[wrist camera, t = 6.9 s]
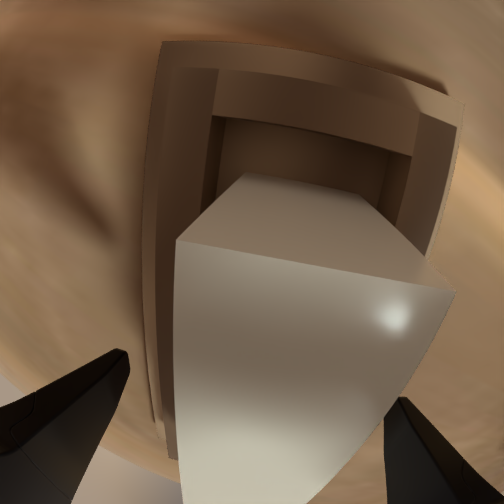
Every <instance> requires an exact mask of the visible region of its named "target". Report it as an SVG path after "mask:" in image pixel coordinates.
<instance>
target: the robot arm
mask: <svg viewBox="0 0 504 504" xmlns="http://www.w3.org/2000/svg"><path fill="white" fill-rule="evenodd" d="M129 374H130V364H129V358H128V353H127V352H126V351H124V350H121V349H118V348H116V349H113V350H111V351H109V352H108V353H106V354H104V355H102V356H100V357H98V358H97V359H95V360H93V361H91V362H89V363H87V364H85V365H84V366H82V367H80V368H78V369H76V370H74V371H72V372H71V373H69V374H67V375H65V376H63V377H61V378H59V379H57V380H56V381H54V382H52V383H50V384H48V385H46V386H44V387H42V388H40V389H39V390H37V391H36V392H33V393H31V394H29V395H27V396H25V397H23V398H21V399H19V400H17V401H15V402H12V403H10V404H7V405H5V406H2V407H0V504H71V502H72V501H71V500H73V497H74V495H75V493H76V491H77V489H78V486H79V484H80V482H81V480H82V478H83V476H84V474H85V472H86V469H87V467H88V465H89V463H90V461H91V459H92V457H93V455H94V453H95V451H96V449H97V447H98V445H99V443H100V441H101V439H102V437H103V435H104V433H105V431H106V429H107V427H108V425H109V423H110V421H111V419H112V417H113V415H114V413H115V411H116V408H117V406H118V403H119V401H120V398H121V395H122V392H123V390H124V387H125V385H126V382H127V379H128V377H129ZM384 461H385V473H386V486H387V504H504V496H503V495H502V494H501V493H499V492H498V491H497V490H496V489H495V488H494V487H493V486H491V485H490V484H489V483H488V482H487V481H486V480H485V479H484V478H483V477H481V476H480V475H479V474H478V473H477V472H476V471H475V470H474V469H473V468H472V467H471V466H470V464H469V463H468V462H467V461H466V460H465V459H463V457H462V456H461V455H460V454H459V453H458V452H457V450H456V449H455V448H454V447H453V446H452V445H451V444H450V443H449V442H448V441H447V440H446V439H445V438H444V436H443V435H442V434H441V433H440V432H439V431H438V430H437V429H436V428H435V427H434V426H433V425H432V424H431V422H430V421H429V420H428V419H427V418H426V417H425V416H424V415H423V414H422V413H421V412H420V411H419V410H418V409H417V408H416V406H415V405H414V404H413V403H412V402H411V401H410V400H409V399H408V398H407V397H398V398H397V399H396V401H395V402H394V404H393V405H392V407H391V408H390V409H389V411H388V412H387V414H386V415H385V416H384Z"/></svg>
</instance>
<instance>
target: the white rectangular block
mask: <svg viewBox="0 0 504 504" xmlns="http://www.w3.org/2000/svg"><path fill="white" fill-rule="evenodd" d="M455 294H456V290H455V289H454V288H453V287H452V286H451V285H450V284H449V283H448V281H447V280H446V279H445V278H444V277H443V276H442V275H441V274H440V273H439V272H438V270H437V269H436V268H435V267H434V266H433V265H432V264H431V263H430V262H429V261H428V260H427V259H426V258H425V257H424V256H423V255H422V254H421V253H420V252H419V251H418V250H417V249H416V248H415V246H414V245H413V244H412V243H411V242H410V241H408V240H407V239H406V238H405V237H404V236H403V235H402V234H401V233H400V232H399V231H398V230H397V229H396V228H395V227H394V226H393V225H392V224H391V223H390V222H389V221H388V220H387V219H386V218H385V217H383V216H382V215H381V214H380V213H379V212H378V211H377V210H376V209H375V208H374V207H372V206H371V205H370V204H369V203H368V202H367V201H366V200H365V199H363V198H362V197H361V196H360V195H359V194H355V193H351V192H346V191H342V190H338V189H333V188H329V187H324V186H319V185H315V184H310V183H305V182H300V181H295V180H289V179H284V178H279V177H273V176H268V175H262V174H256V173H250V172H245V173H244V174H243V175H242V176H241V177H240V178H239V179H238V180H237V181H236V182H234V183H233V184H232V185H231V186H230V187H229V188H228V189H227V190H226V191H225V192H224V193H223V194H222V195H221V196H220V197H219V198H218V199H217V200H216V201H215V202H213V203H212V204H211V205H210V206H209V207H208V208H207V209H206V210H205V211H204V212H203V213H202V214H201V215H200V216H199V217H198V218H197V219H196V220H195V221H194V222H193V223H192V224H191V225H190V226H189V227H188V228H187V229H186V230H185V231H184V232H183V233H182V234H181V235H180V236H179V237H178V238H177V239H176V250H175V271H174V303H173V368H174V399H175V419H176V434H177V447H178V459H179V470H180V479H181V488H182V496H183V504H306V503H307V502H309V501H310V500H311V499H312V498H313V497H314V496H315V495H316V494H317V493H318V492H319V491H320V490H321V489H322V488H323V487H324V486H325V485H326V484H327V483H328V482H329V481H330V480H331V479H332V478H333V477H334V476H335V475H336V474H337V473H338V472H339V471H340V470H341V468H342V467H343V466H344V465H345V464H346V463H347V462H348V461H349V460H350V458H351V457H352V456H353V455H354V454H355V453H356V452H357V450H358V449H359V448H360V447H361V446H362V444H363V443H364V442H365V441H366V440H367V438H368V437H369V436H370V435H371V433H372V432H373V431H374V429H375V428H376V427H377V426H378V424H379V423H380V422H381V420H382V419H383V418H384V416H385V415H386V414H387V412H388V411H389V409H390V408H391V407H392V405H393V404H394V402H395V401H396V399H397V398H398V397H399V395H400V394H401V392H402V391H403V389H404V388H405V386H406V385H407V383H408V381H409V380H410V378H411V377H412V375H413V374H414V372H415V370H416V369H417V367H418V365H419V364H420V362H421V360H422V359H423V357H424V355H425V353H426V352H427V350H428V348H429V346H430V344H431V343H432V341H433V339H434V337H435V335H436V333H437V331H438V330H439V328H440V326H441V324H442V322H443V320H444V318H445V316H446V314H447V311H448V309H449V307H450V305H451V303H452V301H453V299H454V296H455Z"/></svg>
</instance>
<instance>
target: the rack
mask: <svg viewBox="0 0 504 504" xmlns="http://www.w3.org/2000/svg"><path fill="white" fill-rule="evenodd" d="M464 107H465V104H464V103H462V102H460V101H458V100H456V99H454V98H451V97H449V96H447V95H445V94H443V93H440V92H438V91H436V90H433V89H431V88H429V87H426V86H424V85H421V84H419V83H416V82H413V81H411V80H408V79H405V78H403V77H400V76H397V75H394V74H391V73H388V72H385V71H382V70H379V69H376V68H372V67H369V66H365V65H362V64H358V63H355V62H351V61H347V60H343V59H339V58H335V57H330V56H326V55H321V54H316V53H311V52H306V51H300V50H295V49H288V48H282V47H274V46H267V45H258V44H248V43H235V42H217V41H165V42H162V45H161V50H160V55H159V61H158V66H157V72H156V78H155V84H154V90H153V97H152V104H151V112H150V120H149V128H148V137H147V148H146V159H145V172H144V188H143V209H142V292H143V313H144V329H145V342H146V353H147V363H148V373H149V381H150V389H151V397H152V404H153V411H154V417H155V423H156V429H157V435H158V438H160V439H163V440H166V442H167V449H168V455H169V458H171V459H175V460H179V459H178V447H177V434H176V419H175V399H174V368H173V303H174V271H175V250H176V239H177V238H178V237H179V236H180V235H181V234H182V233H183V232H184V231H185V230H186V229H187V228H188V227H189V226H190V225H191V224H192V223H193V222H194V221H195V220H196V219H197V218H198V217H199V216H200V215H201V214H202V213H203V212H204V211H205V210H206V209H207V208H208V207H209V206H210V205H211V204H212V203H213V202H215V201H216V200H217V199H218V198H219V197H220V196H221V195H222V194H223V193H224V192H225V191H226V190H227V189H228V188H229V187H230V186H231V185H232V184H233V183H234V182H236V181H237V180H238V179H239V178H240V177H241V176H242V175H243V174H244V173H245V172H250V173H256V174H262V175H268V176H273V177H279V178H284V179H289V180H295V181H300V182H305V183H310V184H315V185H319V186H324V187H329V188H333V189H338V190H342V191H346V192H351V193H355V194H359V195H360V196H361V197H362V198H363V199H365V200H366V201H367V202H368V203H369V204H370V205H371V206H372V207H374V208H375V209H376V210H377V211H378V212H379V213H380V214H381V215H382V216H383V217H385V218H386V219H387V220H388V221H389V222H390V223H391V224H392V225H393V226H394V227H395V228H396V229H397V230H398V231H399V232H400V233H401V234H402V235H403V236H404V237H405V238H406V239H407V240H408V241H410V242H411V243H412V244H413V245H414V246H415V248H416V249H417V250H418V251H419V252H420V253H421V254H422V255H423V256H424V257H425V258H426V259H427V260H428V259H429V256H430V254H431V251H432V248H433V245H434V242H435V239H436V236H437V232H438V229H439V226H440V223H441V219H442V216H443V212H444V209H445V205H446V201H447V197H448V194H449V190H450V185H451V181H452V177H453V172H454V168H455V163H456V158H457V153H458V148H459V142H460V136H461V130H462V123H463V115H464Z"/></svg>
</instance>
